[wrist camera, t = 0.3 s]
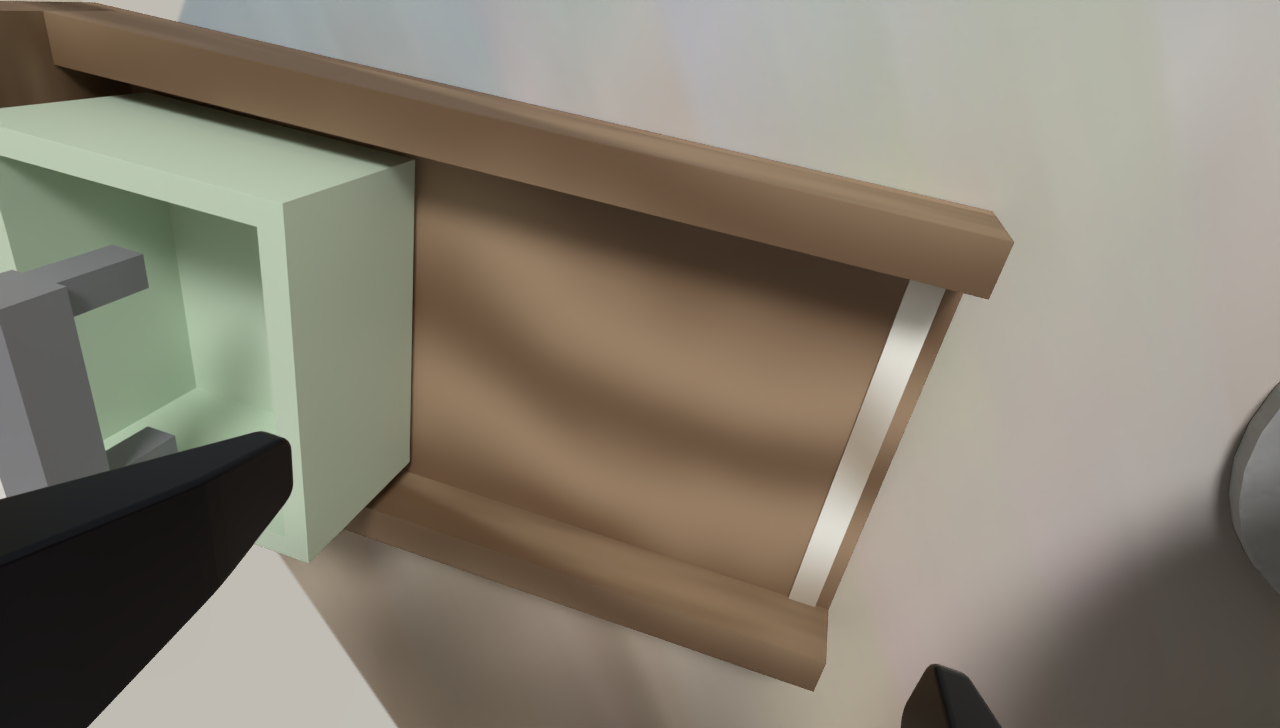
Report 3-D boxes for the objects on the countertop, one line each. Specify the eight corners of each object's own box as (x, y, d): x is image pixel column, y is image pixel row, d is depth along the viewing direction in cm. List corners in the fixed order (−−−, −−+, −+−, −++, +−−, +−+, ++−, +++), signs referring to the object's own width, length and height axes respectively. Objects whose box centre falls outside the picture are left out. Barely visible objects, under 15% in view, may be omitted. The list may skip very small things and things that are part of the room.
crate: (409, 462, 28) (211, 661, 19) (194, 391, 30) (-79, 547, 21) (414, 159, 22) (138, 250, 14) (147, 91, 24) (-254, 136, 15)
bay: (817, 627, 27) (809, 756, 23) (167, 411, 32) (46, 481, 27) (992, 211, 19) (1038, 275, 15) (94, 2, 24) (-95, -1, 19)
